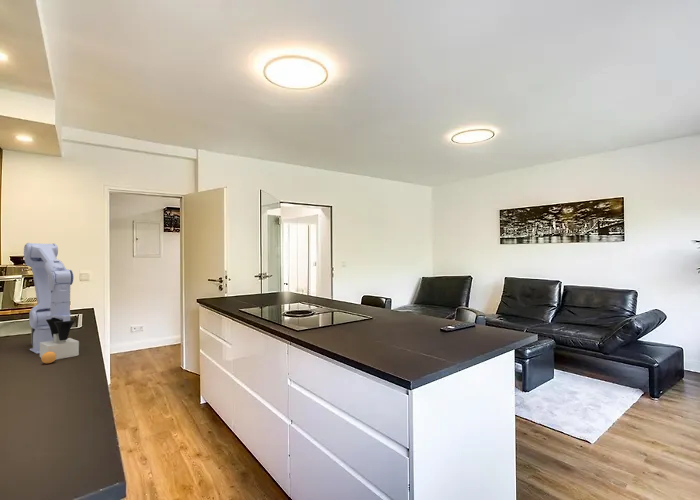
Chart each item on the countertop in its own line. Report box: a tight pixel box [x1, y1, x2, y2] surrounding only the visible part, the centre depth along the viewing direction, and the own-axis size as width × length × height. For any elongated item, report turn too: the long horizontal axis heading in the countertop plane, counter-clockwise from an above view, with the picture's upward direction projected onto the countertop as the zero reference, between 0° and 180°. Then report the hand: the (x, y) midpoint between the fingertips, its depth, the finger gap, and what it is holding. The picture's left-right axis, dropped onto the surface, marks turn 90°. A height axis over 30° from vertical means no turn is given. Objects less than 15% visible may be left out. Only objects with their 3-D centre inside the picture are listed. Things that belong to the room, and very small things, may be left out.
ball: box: [40, 352, 57, 364], centre depth 125 cm, size 4×4×4 cm
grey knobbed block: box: [39, 333, 80, 361], centre depth 133 cm, size 9×9×8 cm
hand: (59, 338), depth 133 cm, fingers open, 7 cm apart
